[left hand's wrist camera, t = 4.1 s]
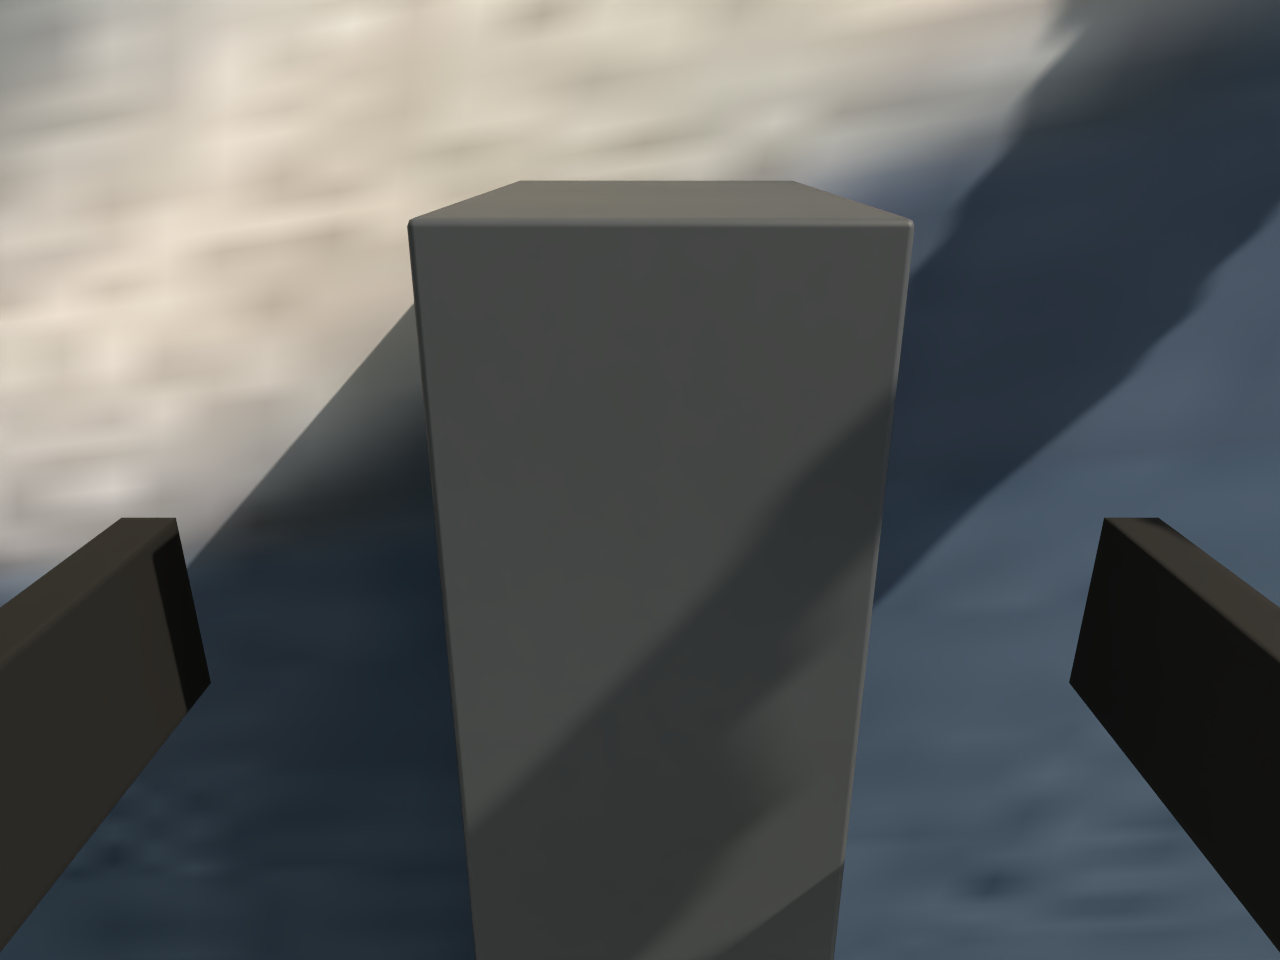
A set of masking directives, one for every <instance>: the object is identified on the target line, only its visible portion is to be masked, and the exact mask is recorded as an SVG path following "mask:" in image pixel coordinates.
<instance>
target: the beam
mask: <svg viewBox="0 0 1280 960" xmlns="http://www.w3.org/2000/svg"><path fill="white" fill-rule="evenodd" d="M407 228H408V239H409V250H410V260H411V271H412V282H413V292H414V303H415V314H416V324H417V335H418V346H419V356H420V367H421V378H422V389H423V399H424V410H425V421H426V431H427V442H428V453H429V463H430V474H431V485H432V495H433V506H434V517H435V528H436V538H437V549H438V560H439V570H440V581H441V592H442V602H443V613H444V624H445V634H446V645H447V656H448V666H449V677H450V688H451V699H452V709H453V720H454V731H455V741H456V752H457V763H458V773H459V784H460V795H461V805H462V816H463V827H464V838H465V848H466V859H467V870H468V880H469V891H470V902H471V912H472V923H473V934H474V944H475V955H476V960H834V951H835V942H836V933H837V924H838V915H839V906H840V897H841V888H842V879H843V870H844V861H845V852H846V843H847V833H848V824H849V815H850V806H851V797H852V788H853V779H854V770H855V761H856V752H857V743H858V734H859V725H860V716H861V707H862V698H863V689H864V680H865V671H866V662H867V652H868V643H869V634H870V625H871V616H872V607H873V598H874V589H875V580H876V571H877V562H878V553H879V544H880V535H881V526H882V517H883V508H884V499H885V490H886V480H887V471H888V462H889V453H890V444H891V435H892V426H893V417H894V408H895V399H896V390H897V381H898V372H899V363H900V354H901V345H902V336H903V327H904V318H905V309H906V299H907V290H908V281H909V272H910V263H911V254H912V245H913V236H914V224H913V221H912V220H910V219H907V218H905V217H902V216H899V215H896V214H893V213H889V212H886V211H883V210H880V209H877V208H874V207H871V206H868V205H865V204H862V203H859V202H856V201H853V200H850V199H846V198H843V197H840V196H837V195H834V194H831V193H828V192H825V191H822V190H819V189H816V188H813V187H810V186H807V185H804V184H800V183H797V182H794V181H518V182H516V183H513V184H510V185H507V186H504V187H501V188H498V189H496V190H493V191H490V192H487V193H484V194H481V195H478V196H475V197H473V198H470V199H467V200H464V201H461V202H458V203H455V204H453V205H450V206H447V207H444V208H441V209H438V210H435V211H433V212H430V213H427V214H424V215H421V216H418V217H415V218H413V219H411V220H409V223H408V226H407Z"/></svg>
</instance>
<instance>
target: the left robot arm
mask: <svg viewBox="0 0 1280 960" xmlns="http://www.w3.org/2000/svg"><path fill="white" fill-rule="evenodd" d="M210 683H211V682H210V677H209V672H208V667H207V663H206V658H205V653H204V649H203V644H202V639H201V634H200V630H199V625H198V620H197V616H196V611H195V606H194V602H193V597H192V592H191V587H190V583H189V578H188V573H187V569H186V564H185V559H184V554H183V550H182V545H181V540H180V536H179V531H178V526H177V522H176V518H121V519H119V520H118V521H117V522H115V523H114V524H113V525H111V526H110V527H108V528H107V529H106V530H104V531H103V532H102V533H100V534H99V535H98V536H96V537H95V538H94V539H92V540H91V541H90V542H88V543H87V544H86V545H84V546H83V547H82V548H80V549H79V550H77V551H76V552H75V553H73V554H72V555H71V556H69V557H68V558H67V559H65V560H64V561H63V562H61V563H60V564H59V565H57V566H56V567H55V568H53V569H52V570H51V571H49V572H48V573H46V574H45V575H44V576H42V577H41V578H40V579H38V580H37V581H36V582H34V583H33V584H32V585H30V586H29V587H28V588H26V589H25V590H24V591H22V592H21V593H20V594H18V595H17V596H15V597H14V598H13V599H11V600H10V601H9V602H7V603H6V604H5V605H3V606H2V607H1V608H0V952H1V951H2V949H3V948H4V947H5V945H6V944H7V943H8V942H9V940H10V939H11V938H12V936H13V935H14V934H15V933H16V931H17V930H18V929H19V927H20V926H21V925H22V924H23V922H24V921H25V920H26V919H27V917H28V916H29V915H30V913H31V912H32V911H33V910H34V908H35V907H36V906H37V904H38V903H39V902H40V901H41V899H42V898H43V897H44V895H45V894H46V893H47V892H48V890H49V889H50V888H51V887H52V885H53V884H54V883H55V881H56V880H57V879H58V878H59V876H60V875H61V874H62V872H63V871H64V870H65V869H66V867H67V866H68V865H69V864H70V862H71V861H72V860H73V858H74V857H75V856H76V855H77V853H78V852H79V851H80V849H81V848H82V847H83V846H84V844H85V843H86V842H87V840H88V839H89V838H90V837H91V835H92V834H93V833H94V832H95V830H96V829H97V828H98V826H99V825H100V824H101V823H102V821H103V820H104V819H105V817H106V816H107V815H108V814H109V812H110V811H111V810H112V808H113V807H114V806H115V805H116V803H117V802H118V801H119V800H120V798H121V797H122V796H123V794H124V793H125V792H126V791H127V789H128V788H129V787H130V785H131V784H132V783H133V782H134V780H135V779H136V778H137V776H138V775H139V774H140V773H141V771H142V770H143V769H144V768H145V766H146V765H147V764H148V762H149V761H150V760H151V759H152V757H153V756H154V755H155V753H156V752H157V751H158V750H159V748H160V747H161V746H162V744H163V743H164V742H165V741H166V739H167V738H168V737H169V736H170V734H171V733H172V732H173V730H174V729H175V728H176V727H177V725H178V724H179V723H180V721H181V720H182V719H183V718H184V716H185V715H186V714H187V712H188V711H189V710H190V709H191V707H192V706H193V705H194V704H195V702H196V701H197V700H198V698H199V697H200V696H201V695H202V693H203V692H204V691H205V689H206V688H207V687H208V686H209V684H210ZM1069 683H1070V684H1071V686H1072V687H1073V688H1074V689H1075V691H1076V692H1077V693H1078V695H1079V696H1080V697H1081V698H1082V700H1083V701H1084V702H1085V704H1086V705H1087V706H1088V707H1089V709H1090V710H1091V711H1092V712H1093V714H1094V715H1095V716H1096V718H1097V719H1098V720H1099V721H1100V723H1101V724H1102V725H1103V727H1104V728H1105V729H1106V730H1107V732H1108V733H1109V734H1110V736H1111V737H1112V738H1113V739H1114V741H1115V742H1116V743H1117V744H1118V746H1119V747H1120V748H1121V750H1122V751H1123V752H1124V753H1125V755H1126V756H1127V757H1128V759H1129V760H1130V761H1131V762H1132V764H1133V765H1134V766H1135V768H1136V769H1137V770H1138V771H1139V773H1140V774H1141V775H1142V776H1143V778H1144V779H1145V780H1146V782H1147V783H1148V784H1149V785H1150V787H1151V788H1152V789H1153V791H1154V792H1155V793H1156V794H1157V796H1158V797H1159V798H1160V800H1161V801H1162V802H1163V803H1164V805H1165V806H1166V807H1167V808H1168V810H1169V811H1170V812H1171V814H1172V815H1173V816H1174V817H1175V819H1176V820H1177V821H1178V823H1179V824H1180V825H1181V826H1182V828H1183V829H1184V830H1185V832H1186V833H1187V834H1188V835H1189V837H1190V838H1191V839H1192V840H1193V842H1194V843H1195V844H1196V846H1197V847H1198V848H1199V849H1200V851H1201V852H1202V853H1203V855H1204V856H1205V857H1206V858H1207V860H1208V861H1209V862H1210V864H1211V865H1212V866H1213V867H1214V869H1215V870H1216V871H1217V872H1218V874H1219V875H1220V876H1221V878H1222V879H1223V880H1224V881H1225V883H1226V884H1227V885H1228V887H1229V888H1230V889H1231V890H1232V892H1233V893H1234V894H1235V895H1236V897H1237V898H1238V899H1239V901H1240V902H1241V903H1242V904H1243V906H1244V907H1245V908H1246V910H1247V911H1248V912H1249V913H1250V915H1251V916H1252V917H1253V919H1254V920H1255V921H1256V922H1257V924H1258V925H1259V926H1260V927H1261V929H1262V930H1263V931H1264V933H1265V934H1266V935H1267V936H1268V938H1269V939H1270V940H1271V942H1272V943H1273V944H1274V945H1275V947H1276V948H1277V949H1278V951H1279V952H1280V608H1279V607H1278V606H1277V605H1275V604H1274V603H1273V602H1271V601H1270V600H1269V599H1267V598H1266V597H1265V596H1263V595H1262V594H1260V593H1259V592H1258V591H1256V590H1255V589H1254V588H1252V587H1251V586H1250V585H1248V584H1247V583H1246V582H1244V581H1243V580H1242V579H1240V578H1239V577H1238V576H1236V575H1235V574H1234V573H1232V572H1231V571H1229V570H1228V569H1227V568H1225V567H1224V566H1223V565H1221V564H1220V563H1219V562H1217V561H1216V560H1215V559H1213V558H1212V557H1211V556H1209V555H1208V554H1207V553H1205V552H1204V551H1203V550H1201V549H1200V548H1198V547H1197V546H1196V545H1194V544H1193V543H1192V542H1190V541H1189V540H1188V539H1186V538H1185V537H1184V536H1182V535H1181V534H1180V533H1178V532H1177V531H1176V530H1174V529H1173V528H1171V527H1170V526H1169V525H1167V524H1166V523H1165V522H1163V521H1162V520H1161V519H1159V518H1104V522H1103V526H1102V531H1101V536H1100V540H1099V545H1098V550H1097V554H1096V559H1095V564H1094V569H1093V573H1092V578H1091V583H1090V587H1089V592H1088V597H1087V602H1086V606H1085V611H1084V616H1083V620H1082V625H1081V630H1080V634H1079V639H1078V644H1077V649H1076V653H1075V658H1074V663H1073V667H1072V672H1071V677H1070V681H1069Z"/></svg>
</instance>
